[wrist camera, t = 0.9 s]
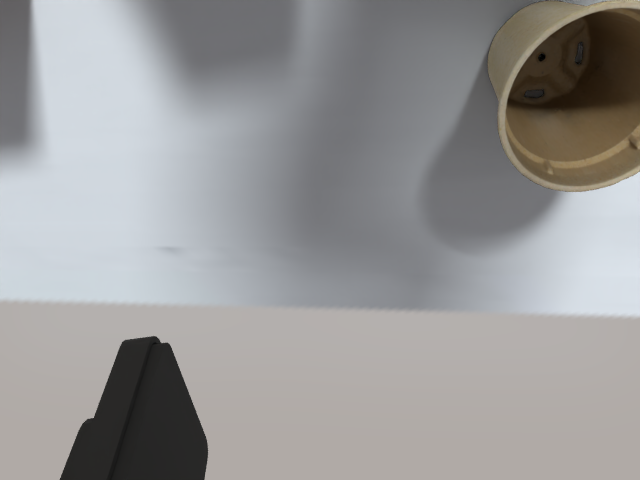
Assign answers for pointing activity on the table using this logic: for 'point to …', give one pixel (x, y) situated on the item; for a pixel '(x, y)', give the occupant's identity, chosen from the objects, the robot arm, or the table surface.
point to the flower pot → (570, 93)
